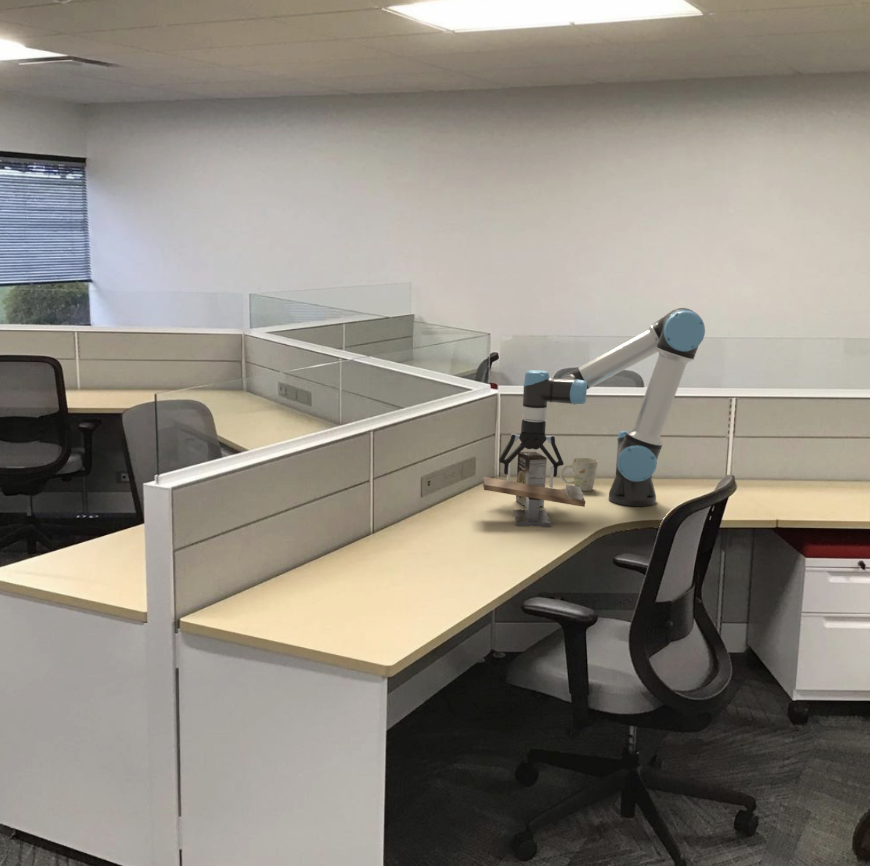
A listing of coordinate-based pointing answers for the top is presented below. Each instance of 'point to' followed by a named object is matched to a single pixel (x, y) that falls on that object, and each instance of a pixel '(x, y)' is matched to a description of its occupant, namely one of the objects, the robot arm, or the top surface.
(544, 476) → the coffee box
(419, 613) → the top surface
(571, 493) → the beam
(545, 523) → the pivot stand
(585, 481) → the mug
